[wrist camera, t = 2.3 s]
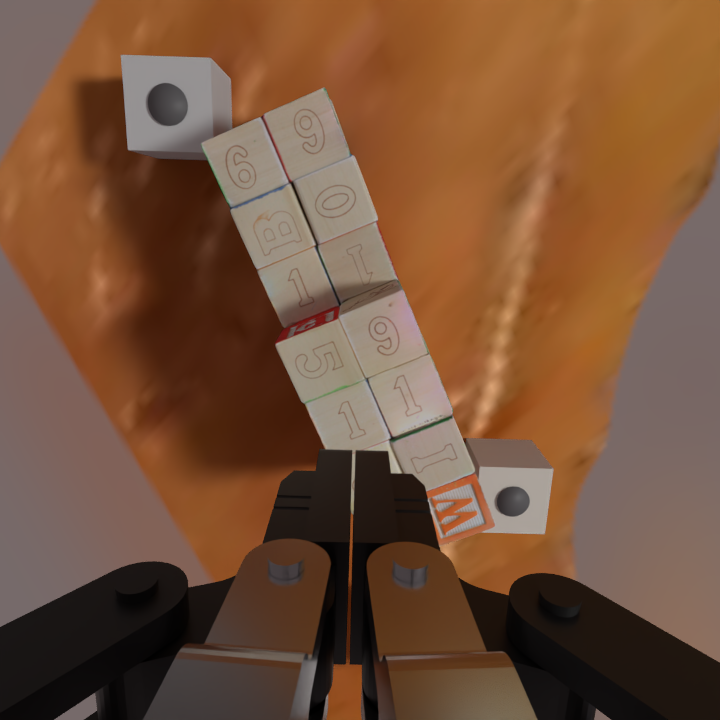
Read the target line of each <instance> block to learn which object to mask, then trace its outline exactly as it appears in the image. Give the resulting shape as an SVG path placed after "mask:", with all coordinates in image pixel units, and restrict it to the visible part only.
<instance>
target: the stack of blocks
mask: <svg viewBox="0 0 720 720" xmlns="http://www.w3.org/2000/svg"><path fill="white" fill-rule="evenodd" d="M201 147H202V150H203V152H204V154H205V156H206V158H207V160H208V163H209V165H210V167H211V169H212V171H213V173H214V176H215V178H216V180H217V182H218V185H219V187H220V189H221V191H222V193H223V195H224V197H225V199H226V201H227V203H228V205H229V206H230V213H231V215H232V218H233V220H234V222H235V224H236V226H237V229H238V231H239V233H240V235H241V237H242V240H243V242H244V244H245V246H246V248H247V250H248V253H249V255H250V257H251V259H252V261H253V264H254V266H255V268H256V269H257V272H258V275H259V278H260V280H261V282H262V284H263V287H264V289H265V291H266V293H267V295H268V297H269V299H270V301H271V304H272V306H273V308H274V310H275V312H276V314H277V316H278V319H279V320H280V322H281V324H282V326H283V327H284V328H285V329H283V330H282V331H281V334H280V335H279V337H278V338H277V340H276V342H275V347H276V349H277V351H278V353H279V355H280V357H281V359H282V361H283V364H284V366H285V368H286V370H287V372H288V374H289V376H290V379H291V381H292V383H293V385H294V387H295V389H296V391H297V394H298V396H299V398H300V400H301V402H302V403H304V404H305V406H306V408H307V411H308V413H309V416H310V418H311V420H312V422H313V424H314V427H315V429H316V431H317V433H318V435H319V437H320V439H321V442H322V444H323V446H324V448H325V449H334V450H352V481H351V513H352V514H354V481H355V450H372V451H388V453H389V461H390V469H391V473H403V474H413V475H414V476H415V477H416V478H417V479H418V480H419V481H420V482H421V483H422V484H424V485H425V489H426V493H427V497H428V502H429V506H430V510H431V514H432V518H433V522H434V527H435V531H436V535H437V539H438V543H439V546H442V545H446V544H449V543H452V542H454V541H457V540H460V539H463V538H466V537H469V536H472V535H474V534H477V533H480V532H483V531H485V530H488V529H491V528H493V527H495V526H496V524H495V521H494V519H493V516H492V513H491V511H490V508H489V506H488V503H487V501H486V498H485V496H484V493H483V491H482V488H481V485H480V483H479V480H478V477H477V475H476V473H475V468H474V465H473V463H472V460H471V458H470V455H469V453H468V451H467V448H466V446H465V443H464V441H463V439H462V436H461V434H460V431H459V429H458V427H457V424H456V422H455V420H454V417H453V415H452V412H453V408H452V406H451V403H450V401H449V398H448V396H447V394H446V391H445V389H444V386H443V384H442V381H441V379H440V376H439V374H438V371H437V369H436V367H435V364H434V362H433V360H432V357H431V355H430V353H429V350H428V348H427V345H426V343H425V340H424V338H423V336H422V334H421V332H420V329H419V327H418V324H417V322H416V319H415V317H414V314H413V312H412V309H411V307H410V305H409V302H408V300H407V297H406V295H405V292H404V290H403V289H402V286H401V284H400V282H399V279H398V276H397V274H396V271H395V269H394V266H393V263H392V261H391V258H390V255H389V253H388V250H387V247H386V245H385V242H384V239H383V237H382V234H381V231H380V229H379V226H378V223H377V221H378V217H377V214H376V211H375V208H374V206H373V203H372V200H371V197H370V195H369V192H368V189H367V187H366V184H365V182H364V179H363V176H362V174H361V171H360V169H359V166H358V163H357V161H356V158H355V156H353V155H351V153H350V151H349V148H348V145H347V142H346V139H345V137H344V134H343V131H342V128H341V125H340V123H339V120H338V117H337V114H336V112H335V109H334V106H333V103H332V101H331V100H330V99H329V96H328V93H327V91H326V89H325V88H322V89H320V90H317V91H315V92H313V93H310V94H308V95H306V96H304V97H301V98H299V99H297V100H295V101H293V102H290V103H288V104H286V105H283V106H281V107H279V108H276V109H274V110H272V111H270V112H267V113H265V114H264V115H263V116H262V117H259V118H257V119H254V120H252V121H250V122H247V123H245V124H242V125H240V126H238V127H236V128H233V129H231V130H229V131H227V132H225V133H222V134H220V135H218V136H216V137H213V138H211V139H209V140H206V141H204V142H202V143H201Z"/></svg>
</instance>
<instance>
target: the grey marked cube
mask: <svg viewBox="0 0 720 720" xmlns="http://www.w3.org/2000/svg"><path fill="white" fill-rule="evenodd" d="M121 63H122V76H123V90H124V104H125V117H126V131H127V145H128V150H129V151H133V152H136V153H140V154H143V155H147V156H151V157H154V158H158V159H185V160H207V158H206V156H205V154H204V152H203V150H202V147H201V143H202V142H204V141H206V140H209V139H211V138H213V137H216V136H218V135H220V134H222V133H225V132H227V131H229V130H231V129H232V103H231V79H230V78H229V77H228V76H227V75H226V74H225V73H224V71H223V70H222V69H221V68H220V67H219V66H218V65H217V64H216V63H215V62H214V61H213V60H212V59H211V58H198V57H169V56H140V55H121Z"/></svg>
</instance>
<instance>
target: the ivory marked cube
mask: <svg viewBox="0 0 720 720" xmlns="http://www.w3.org/2000/svg"><path fill="white" fill-rule="evenodd" d="M466 448H467V451H468V453H469V455H470V458H471V460H472V463H473V465H474V468H475V473H476V475H477V477H478V480H479V483H480V485H481V488H482V491H483V493H484V496H485V498H486V501H487V503H488V506H489V508H490V511H491V513H492V516H493V519H494V521H495V524H496V526H495V527H493V528H491V529H488V530H485V531H483V532H487V533H521V534H545V529H546V521H547V514H548V506H549V499H550V491H551V484H552V476H553V468H552V466H551V465H550V464H549V462H548V461H547V460H546V458H545V457H544V456H543V454H542V453H541V452H540V450H539V449H538V448H537V447H536V445H535V444H534V443H533V441H532V440H513V439H480V438H466Z"/></svg>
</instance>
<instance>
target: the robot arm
mask: <svg viewBox="0 0 720 720" xmlns="http://www.w3.org/2000/svg"><path fill="white" fill-rule="evenodd" d="M351 481H352V450H334V449H320V450H319V455H318V461H317V466H316V471H293V472H292V473H291V474H290V475H288V476H287V477H286V478H285V479H284V480H282V481H281V484H280V487H279V490H278V494H277V498H276V500H275V504H274V509H273V510H272V514H271V517H270V520H269V524H268V527H267V530H266V534H265V537H264V540H263V544H261V545H259V546H258V547H256V548H254V549H253V550H252V551H250V552H249V553H248V554H247V555H246V556H245V558H244V560H243V562H242V564H241V566H240V568H239V570H238V572H237V575H236V576H233V577H231V578H229V579H226V580H223V581H219V582H215V583H210V584H205V585H200V586H195V587H189V588H188V580H187V577H186V575H185V573H184V572H183V571H182V570H181V569H180V568H178V567H176V566H174V565H172V564H169V563H164V562H141V563H135V564H131V565H127V566H125V567H121V568H119V569H116V570H114V571H112V572H110V573H108V574H106V575H104V576H102V577H100V578H98V579H96V580H94V581H92V582H90V583H88V584H86V585H84V586H82V587H80V588H78V589H76V590H74V591H72V592H70V593H68V594H66V595H64V596H62V597H60V598H58V599H56V600H54V601H52V602H50V603H48V604H46V605H44V606H42V607H40V608H38V609H36V610H34V611H32V612H30V613H28V614H26V615H24V616H22V617H20V618H17V619H15V620H13V621H11V622H9V623H7V624H6V625H3V626H2V627H0V720H54V719H55V718H57V717H58V716H60V715H62V714H63V713H65V712H66V711H68V710H69V709H71V708H72V707H74V706H75V705H77V704H78V703H80V702H81V701H83V700H84V699H86V698H87V697H89V696H90V695H92V694H93V693H95V694H96V703H97V711H96V712H95V713H93V714H92V715H90V716H89V717H87V718H86V719H84V720H326V717H327V711H328V693H329V691H330V689H331V686H332V680H333V664H346V638H347V608H348V578H349V548H350V515H351ZM350 664H358V665H362V696H361V715H362V720H594V717H595V711H596V709H598V710H599V711H600V712H602V713H603V714H604V715H606V716H607V717H609V718H610V719H611V720H720V663H719V662H718V661H716V660H714V659H712V658H710V657H709V656H707V655H705V654H703V653H702V652H700V651H698V650H697V649H695V648H693V647H691V646H690V645H688V644H686V643H685V642H683V641H681V640H679V639H677V638H676V637H674V636H672V635H671V634H669V633H667V632H665V631H663V630H662V629H660V628H658V627H656V626H655V625H653V624H651V623H650V622H648V621H646V620H644V619H643V618H641V617H639V616H637V615H636V614H634V613H632V612H630V611H629V610H627V609H625V608H624V607H622V606H620V605H618V604H617V603H615V602H613V601H611V600H609V599H608V598H606V597H604V596H603V595H601V594H599V593H597V592H596V591H594V590H592V589H590V588H589V587H587V586H585V585H583V584H581V583H579V582H577V581H575V580H573V579H570V578H567V577H564V576H560V575H555V574H547V573H536V574H529V575H526V576H523V577H521V578H519V579H517V580H516V581H515V582H514V583H513V584H512V586H511V588H510V591H509V595H505V594H501V593H497V592H493V591H489V590H485V589H482V588H478V587H476V586H473V585H471V584H469V583H467V582H465V581H463V580H461V579H460V578H458V575H457V573H456V570H455V568H454V565H453V563H452V562H451V560H450V559H449V558H448V557H447V556H446V555H445V554H444V553H442V552H441V551H440V547H439V543H438V539H437V535H436V531H435V527H434V522H433V518H432V514H431V510H430V506H429V502H428V497H427V493H426V489H425V485H424V484H422V483H421V482H420V481H419V480H418V479H417V478H416V477H415V476H414V475H413V474H403V473H391V469H390V461H389V453H388V451H372V450H355V481H354V514H353V550H352V593H351V635H350Z"/></svg>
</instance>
